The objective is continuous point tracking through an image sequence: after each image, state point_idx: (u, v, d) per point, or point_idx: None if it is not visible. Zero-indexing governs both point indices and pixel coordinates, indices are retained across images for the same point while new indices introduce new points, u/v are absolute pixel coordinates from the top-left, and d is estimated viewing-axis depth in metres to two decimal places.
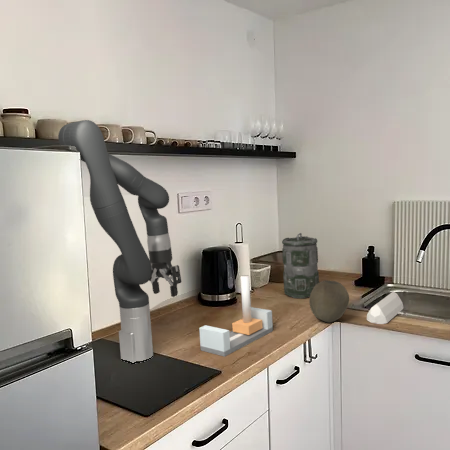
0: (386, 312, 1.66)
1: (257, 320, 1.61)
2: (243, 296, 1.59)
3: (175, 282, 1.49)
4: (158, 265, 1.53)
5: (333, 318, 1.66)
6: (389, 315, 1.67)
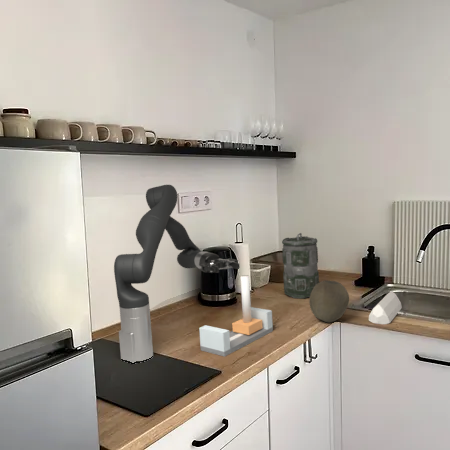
0: (388, 312, 1.66)
1: (257, 320, 1.61)
2: (243, 296, 1.59)
3: (236, 260, 1.76)
4: None
5: (333, 318, 1.66)
6: (391, 315, 1.67)
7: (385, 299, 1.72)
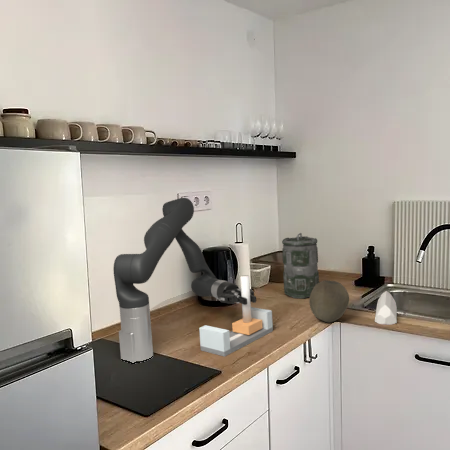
0: (393, 312, 1.66)
1: (257, 320, 1.61)
2: (243, 296, 1.58)
3: (252, 292, 1.64)
4: None
5: (333, 318, 1.66)
6: (395, 315, 1.67)
7: (386, 299, 1.72)
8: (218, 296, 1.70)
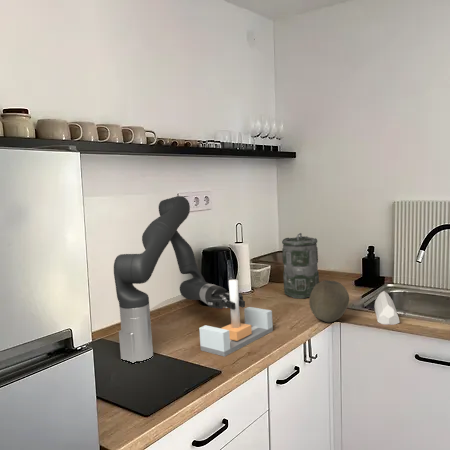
0: (395, 311, 1.66)
1: (246, 325, 1.56)
2: (231, 301, 1.54)
3: None
4: None
5: (333, 318, 1.66)
6: None
7: (387, 299, 1.72)
8: (206, 300, 1.65)
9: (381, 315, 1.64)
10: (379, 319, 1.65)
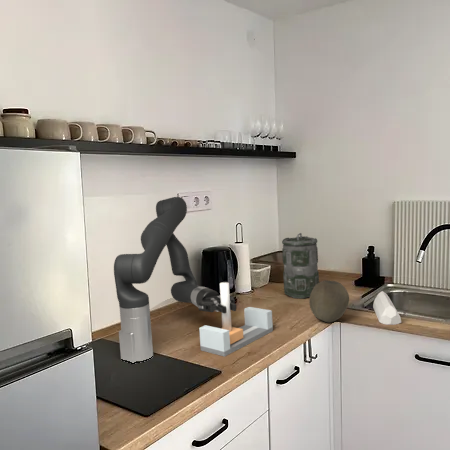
0: None
1: (237, 329, 1.53)
2: (222, 304, 1.50)
3: None
4: None
5: (333, 318, 1.66)
6: None
7: (387, 299, 1.72)
8: (197, 303, 1.61)
9: (383, 315, 1.64)
10: (381, 319, 1.65)
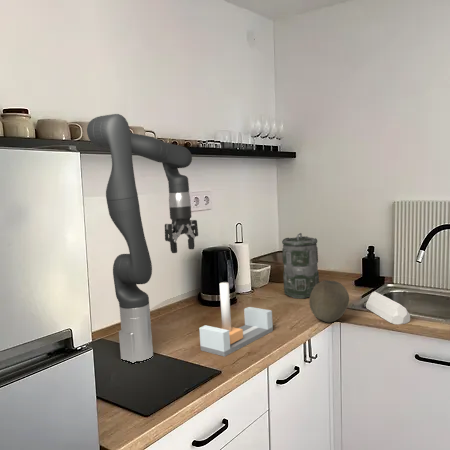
0: None
1: (237, 329, 1.52)
2: (222, 304, 1.50)
3: (197, 233, 1.68)
4: (182, 222, 1.62)
5: (333, 318, 1.66)
6: None
7: (389, 299, 1.72)
8: (170, 209, 1.60)
9: (395, 315, 1.63)
10: (392, 320, 1.64)
